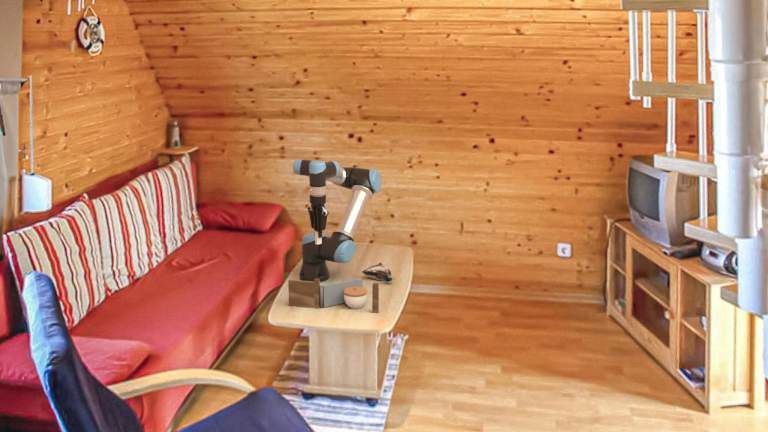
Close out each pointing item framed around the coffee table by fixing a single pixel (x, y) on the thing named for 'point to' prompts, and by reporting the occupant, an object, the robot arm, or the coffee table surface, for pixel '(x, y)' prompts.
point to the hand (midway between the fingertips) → (318, 243)
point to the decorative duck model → (378, 272)
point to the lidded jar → (355, 296)
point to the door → (336, 292)
